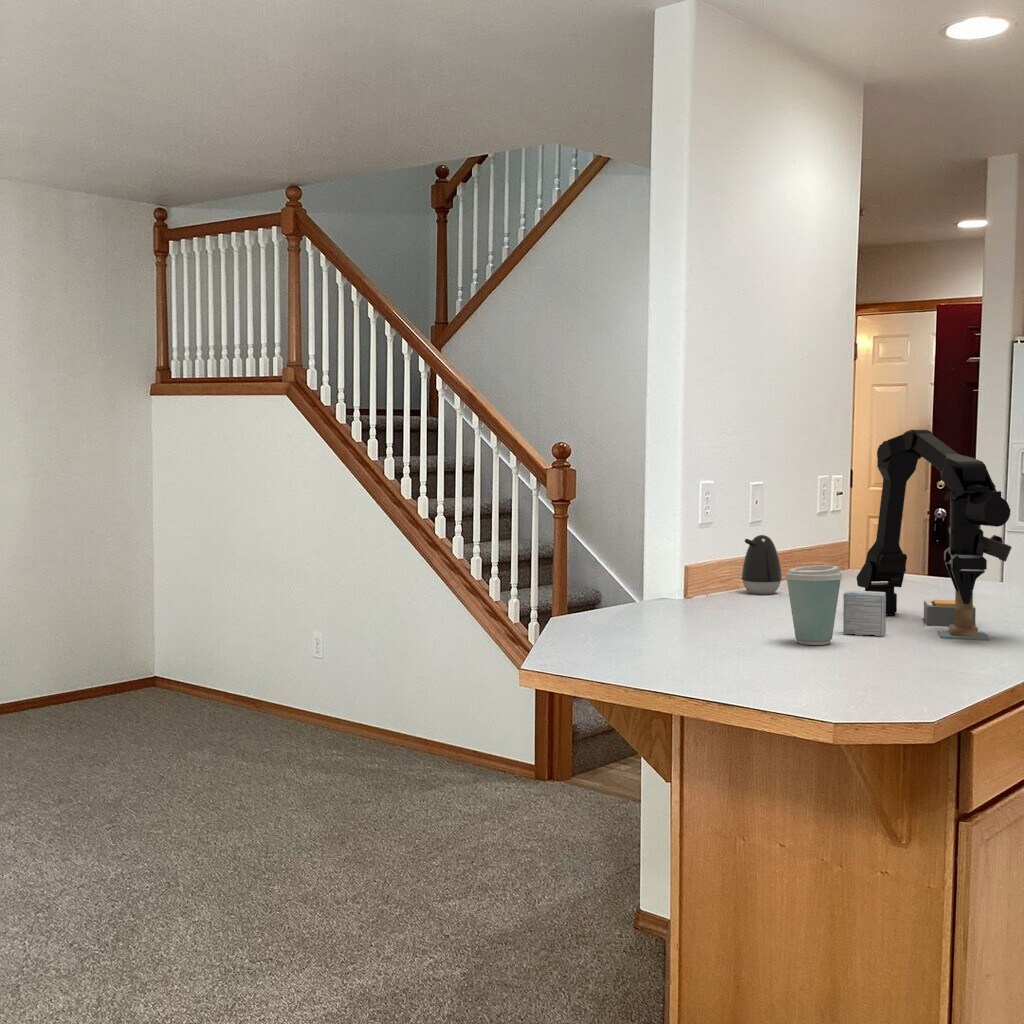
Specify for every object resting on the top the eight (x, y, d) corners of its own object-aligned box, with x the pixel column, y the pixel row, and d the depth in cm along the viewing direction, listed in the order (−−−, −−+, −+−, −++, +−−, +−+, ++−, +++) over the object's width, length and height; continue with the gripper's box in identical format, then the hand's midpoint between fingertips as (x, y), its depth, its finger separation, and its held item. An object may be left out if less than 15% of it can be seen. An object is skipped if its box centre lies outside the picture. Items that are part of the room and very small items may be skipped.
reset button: (935, 619, 250) (935, 603, 250) (933, 615, 256) (933, 599, 256) (965, 620, 249) (965, 604, 248) (962, 615, 254) (962, 600, 254)
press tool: (951, 635, 233) (951, 593, 233) (949, 631, 238) (949, 590, 237) (977, 636, 232) (978, 594, 231) (975, 632, 237) (976, 591, 236)
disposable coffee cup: (802, 648, 221) (802, 570, 221) (774, 639, 232) (775, 564, 231) (851, 646, 224) (852, 568, 223) (822, 637, 235) (823, 562, 234)
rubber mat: (940, 638, 233) (940, 636, 233) (937, 632, 239) (937, 630, 239) (989, 640, 230) (989, 637, 230) (984, 634, 237) (984, 632, 237)
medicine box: (886, 634, 238) (886, 591, 238) (883, 637, 234) (883, 594, 234) (846, 631, 242) (846, 590, 241) (842, 634, 238) (843, 592, 237)
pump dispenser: (732, 592, 305) (733, 534, 304) (765, 590, 310) (765, 532, 309) (756, 596, 296) (757, 537, 295) (789, 594, 300) (790, 535, 300)
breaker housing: (927, 625, 249) (927, 605, 249) (923, 618, 258) (923, 599, 258) (975, 626, 247) (975, 607, 246) (969, 620, 256) (970, 601, 256)
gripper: (1015, 527, 222) (1014, 608, 223) (1001, 520, 240) (1000, 596, 241) (953, 526, 225) (952, 607, 226) (944, 520, 243) (943, 594, 244)
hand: (963, 601), depth 234 cm, fingers open, 9 cm apart
